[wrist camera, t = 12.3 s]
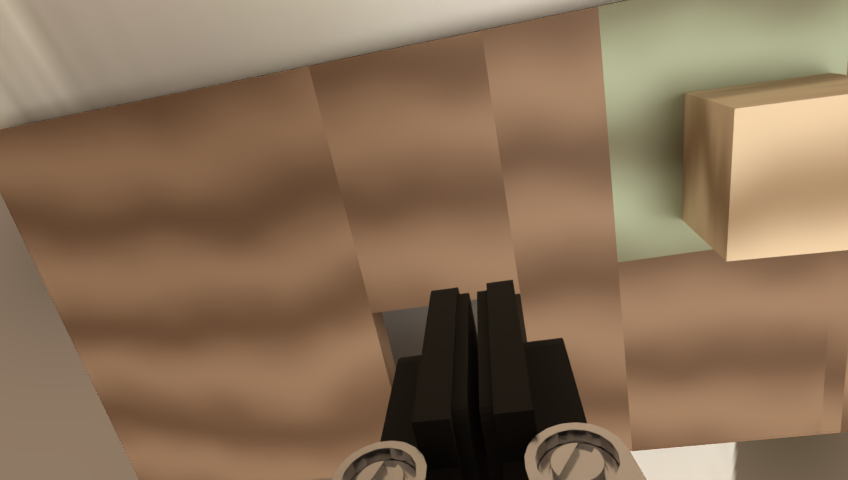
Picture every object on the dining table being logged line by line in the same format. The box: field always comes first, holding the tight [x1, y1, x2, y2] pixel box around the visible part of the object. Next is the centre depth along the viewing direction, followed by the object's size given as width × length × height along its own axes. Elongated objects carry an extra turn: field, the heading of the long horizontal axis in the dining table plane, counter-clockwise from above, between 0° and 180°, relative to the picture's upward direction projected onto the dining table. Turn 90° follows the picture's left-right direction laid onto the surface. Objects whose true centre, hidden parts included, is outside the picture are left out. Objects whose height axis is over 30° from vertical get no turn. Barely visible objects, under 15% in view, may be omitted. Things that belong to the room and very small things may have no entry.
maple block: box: [682, 73, 848, 261], centre depth 23 cm, size 6×6×5 cm
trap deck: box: [0, 0, 848, 480], centre depth 29 cm, size 24×52×2 cm, turn 101°
